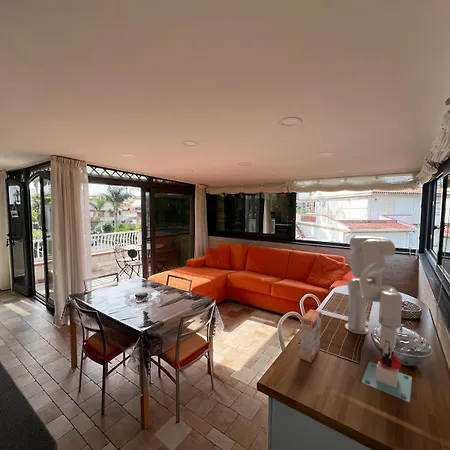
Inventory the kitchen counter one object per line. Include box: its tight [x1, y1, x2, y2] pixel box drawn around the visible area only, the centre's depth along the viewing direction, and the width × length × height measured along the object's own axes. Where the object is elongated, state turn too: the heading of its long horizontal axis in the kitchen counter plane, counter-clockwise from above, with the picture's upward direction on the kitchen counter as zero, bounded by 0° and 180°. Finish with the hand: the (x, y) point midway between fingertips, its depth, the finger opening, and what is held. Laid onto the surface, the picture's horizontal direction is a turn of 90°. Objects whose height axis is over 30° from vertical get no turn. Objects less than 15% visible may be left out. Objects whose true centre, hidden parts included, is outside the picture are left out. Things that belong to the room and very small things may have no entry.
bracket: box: [377, 354, 402, 370], centre depth 99 cm, size 6×5×3 cm
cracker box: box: [299, 309, 322, 363], centre depth 119 cm, size 14×6×21 cm, turn 142°
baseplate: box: [361, 361, 413, 403], centre depth 100 cm, size 18×16×2 cm
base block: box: [376, 360, 399, 388], centre depth 100 cm, size 7×7×6 cm
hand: (387, 361), depth 100 cm, fingers closed on bracket, 5 cm apart
